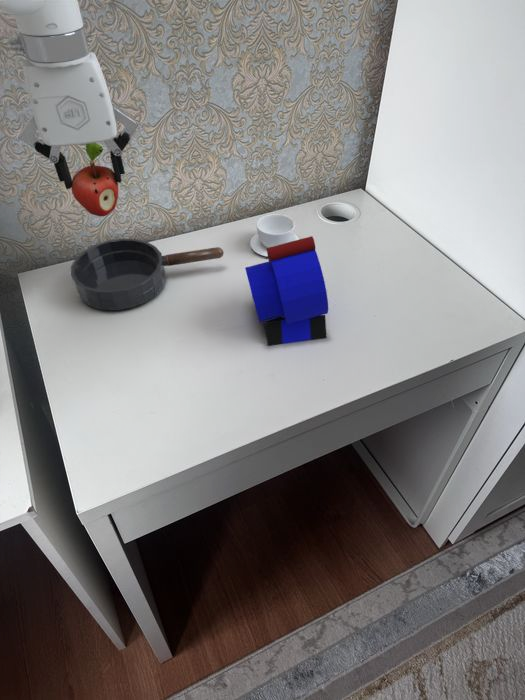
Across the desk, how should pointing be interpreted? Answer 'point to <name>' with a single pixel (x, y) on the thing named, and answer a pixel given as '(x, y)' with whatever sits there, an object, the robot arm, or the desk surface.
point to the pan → (118, 274)
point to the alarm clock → (290, 292)
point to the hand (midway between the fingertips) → (94, 180)
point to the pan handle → (192, 256)
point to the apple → (95, 185)
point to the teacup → (272, 232)
